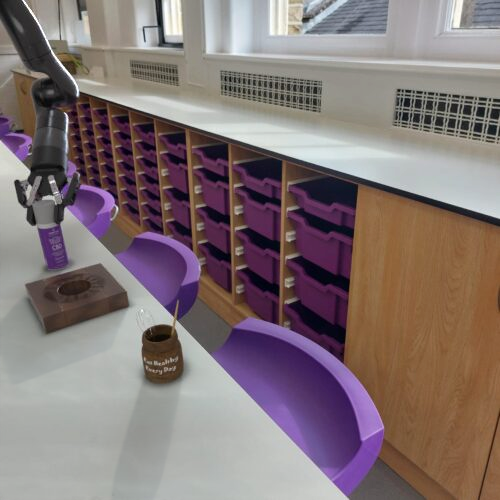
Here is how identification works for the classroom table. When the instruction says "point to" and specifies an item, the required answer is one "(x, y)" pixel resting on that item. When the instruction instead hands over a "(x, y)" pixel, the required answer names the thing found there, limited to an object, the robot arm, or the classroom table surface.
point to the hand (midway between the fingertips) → (44, 223)
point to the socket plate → (76, 297)
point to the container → (50, 235)
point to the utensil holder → (161, 352)
